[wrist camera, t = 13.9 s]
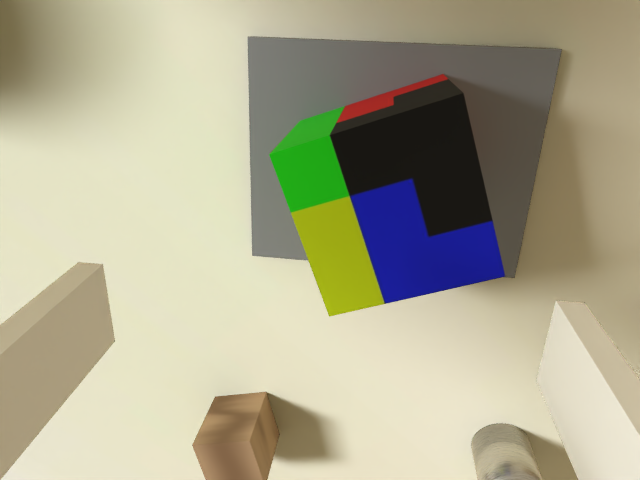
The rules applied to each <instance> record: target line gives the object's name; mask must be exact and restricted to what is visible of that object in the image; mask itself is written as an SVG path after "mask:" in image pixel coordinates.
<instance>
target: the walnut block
mask: <svg viewBox="0 0 640 480" xmlns="http://www.w3.org/2000/svg"><path fill="white" fill-rule="evenodd" d="M279 435H280V434H279V431H278V428H277V425H276V421H275V418H274V415H273V412H272V409H271V405H270V402H269V399H268V396H267V393H266V392H259V393H249V394H239V395H228V396H218V397H215V398H214V400H213V402H212V404H211V407H210V409H209V411H208V413H207V415H206V417H205V419H204V421H203V424H202V426H201V428H200V430H199V432H198V434H197V436H196V438H195V440H194V443H193V445H192V446H193V448H194V451H195V453H196V456H197V459H198V461H199V464H200V466H201V469H202V471H203V474H204V476H205V479H206V480H267V479H268V475H269V471H270V468H271V464H272V460H273V457H274V453H275V449H276V446H277V442H278V438H279Z"/></svg>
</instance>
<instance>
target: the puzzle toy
mask: <svg viewBox="0 0 640 480" xmlns="http://www.w3.org/2000/svg"><path fill="white" fill-rule="evenodd" d="M269 156H270V158H271V161H272V164H273V167H274V169H275V172H276V175H277V177H278V180H279V183H280V185H281V188H282V191H283V193H284V196H285V199H286V201H287V204H288V207H289V209H290V212H291V215H292V218H293V220H294V223H295V226H296V228H297V231H298V234H299V236H300V239H301V242H302V244H303V247H304V250H305V252H306V255H307V258H308V260H309V263H310V266H311V268H312V271H313V274H314V277H315V279H316V282H317V285H318V287H319V290H320V293H321V295H322V298H323V301H324V303H325V306H326V309H327V311H328V314H329V316H333V315H337V314H342V313H346V312H351V311H355V310H360V309H364V308H368V307H373V306H377V305H382V304H386V303H390V302H395V301H399V300H404V299H408V298H412V297H417V296H421V295H426V294H430V293H434V292H439V291H443V290H448V289H452V288H457V287H461V286H465V285H470V284H474V283H479V282H483V281H487V280H492V279H496V278H501V277H505V272H504V268H503V264H502V259H501V255H500V251H499V246H498V242H497V237H496V233H495V229H494V224H493V220H492V215H491V211H490V207H489V202H488V198H487V193H486V189H485V185H484V180H483V176H482V172H481V167H480V163H479V158H478V154H477V150H476V145H475V141H474V136H473V132H472V128H471V123H470V119H469V115H468V110H467V106H466V101H465V97H464V93H463V92H462V91H461V90H460V89H459V88H458V87H457V86H456V85H454V84H453V83H452V82H451V81H450V80H449V79H448V78H447V77H446V76H445V75H444V74H441V75H438V76H435V77H432V78H429V79H426V80H423V81H420V82H417V83H414V84H411V85H408V86H405V87H402V88H399V89H395V90H392V91H389V92H386V93H383V94H380V95H377V96H374V97H371V98H368V99H365V100H362V101H359V102H356V103H353V104H350V105H347V106H343V107H340V108H337V109H334V110H331V111H328V112H325V113H322V114H319V115H316V116H313V117H310V118H307V119H304V120H301V121H299V122H298V123H297V124H296V126H295V127H294V128H293V129H292V130H291V131H290V132H289V133H288V134H287V135H286V136H285V137H284V139H283V140H282V141H281V142H280V143H279V144H278V145H277V146H276V147H275V148H274V149H273V150H272V151H271V153H270V154H269Z"/></svg>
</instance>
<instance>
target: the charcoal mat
mask: <svg viewBox="0 0 640 480" xmlns="http://www.w3.org/2000/svg"><path fill="white" fill-rule="evenodd" d="M561 51H562V49H551V48H526V47H501V46H476V45H451V44H426V43H401V42H376V41H351V40H326V39H300V38H275V37H248V73H249V121H250V168H251V216H252V256H262V257H274V258H285V259H297V260H308V258H307V255H306V252H305V250H304V247H303V244H302V242H301V239H300V236H299V234H298V231H297V228H296V226H295V223H294V220H293V218H292V215H291V212H290V209H289V207H288V204H287V201H286V199H285V196H284V193H283V191H282V188H281V185H280V183H279V180H278V177H277V175H276V172H275V169H274V167H273V164H272V161H271V158H270V156H269V154H270V153H271V151H272V150H273V149H274V148H275V147H276V146H277V145H278V144H279V143H280V142H281V141H282V140H283V139H284V137H285V136H286V135H287V134H288V133H289V132H290V131H291V130H292V129H293V128H294V127H295V126H296V124H297V123H298V122H299V121H301V120H304V119H307V118H310V117H313V116H316V115H319V114H322V113H325V112H328V111H331V110H334V109H337V108H340V107H343V106H347V105H350V104H353V103H356V102H359V101H362V100H365V99H368V98H371V97H374V96H377V95H380V94H383V93H386V92H389V91H392V90H395V89H399V88H402V87H405V86H408V85H411V84H414V83H417V82H420V81H423V80H426V79H429V78H432V77H435V76H438V75H441V74H444V75H445V76H446V77H447V78H448V79H449V80H450V81H451V82H452V83H453V84H454V85H456V86H457V87H458V88H459V89H460V90H461V91H462V92H463V93H464V97H465V101H466V106H467V110H468V115H469V119H470V123H471V128H472V132H473V136H474V141H475V145H476V150H477V154H478V158H479V163H480V167H481V172H482V176H483V180H484V185H485V189H486V193H487V198H488V202H489V207H490V211H491V215H492V220H493V224H494V229H495V233H496V237H497V242H498V246H499V251H500V255H501V259H502V264H503V268H504V272H505V277H510V278H515V273H516V268H517V263H518V258H519V254H520V249H521V244H522V239H523V234H524V229H525V225H526V220H527V215H528V210H529V205H530V200H531V196H532V191H533V186H534V181H535V176H536V171H537V167H538V162H539V157H540V152H541V147H542V142H543V138H544V133H545V128H546V123H547V118H548V113H549V109H550V104H551V99H552V94H553V89H554V84H555V80H556V75H557V70H558V65H559V60H560V55H561Z"/></svg>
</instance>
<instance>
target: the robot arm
mask: <svg viewBox="0 0 640 480" xmlns="http://www.w3.org/2000/svg"><path fill="white" fill-rule="evenodd" d="M114 342H115V338H114V332H113V326H112V319H111V313H110V307H109V300H108V294H107V288H106V281H105V275H104V269H103V264H94V263H81V262H78V263H77V264H76V265H74V266H73V267H72V268H71V269H70V270H68V271H67V272H66V273H65V274H63V275H62V276H61V277H60V278H58V279H57V280H56V281H55V282H53V283H52V284H51V285H50V286H48V287H47V288H46V289H45V290H43V291H42V292H41V293H40V294H38V295H37V296H36V297H35V298H33V299H32V300H31V301H30V302H29V303H27V304H26V305H25V306H24V307H22V308H21V309H20V310H19V311H17V312H16V313H15V314H14V315H12V316H11V317H10V318H9V319H7V320H6V321H5V322H4V323H2V324H1V325H0V480H1V478H2V477H3V476H4V475H5V474H6V472H7V471H8V470H9V469H10V467H11V466H12V465H13V464H14V463H15V461H16V460H17V459H18V458H19V457H20V455H21V454H22V453H23V452H24V451H25V449H26V448H27V447H28V446H29V444H30V443H31V442H32V441H33V440H34V438H35V437H36V436H37V435H38V434H39V432H40V431H41V430H42V429H43V428H44V426H45V425H46V424H47V423H48V421H49V420H50V419H51V418H52V417H53V415H54V414H55V413H56V412H57V411H58V409H59V408H60V407H61V406H62V405H63V403H64V402H65V401H66V400H67V398H68V397H69V396H70V395H71V394H72V392H73V391H74V390H75V389H76V388H77V386H78V385H79V384H80V383H81V382H82V380H83V379H84V378H85V377H86V375H87V374H88V373H89V372H90V371H91V369H92V368H93V367H94V366H95V365H96V363H97V362H98V361H99V360H100V359H101V357H102V356H103V355H104V354H105V352H106V351H107V350H108V349H109V348H110V346H111V345H112V344H113V343H114ZM536 382H537V384H538V386H539V389H540V391H541V394H542V396H543V398H544V401H545V403H546V405H547V408H548V410H549V412H550V415H551V417H552V419H553V422H554V424H555V426H556V429H557V431H558V433H559V436H560V438H561V440H562V443H563V445H564V447H565V450H566V452H567V455H568V457H569V459H570V462H571V464H572V466H573V469H574V471H575V473H576V476H577V478H578V480H640V379H639V378H638V376H637V375H636V374H635V372H634V371H633V369H632V368H631V367H630V365H629V364H628V363H627V361H626V360H625V358H624V357H623V356H622V354H621V353H620V351H619V350H618V349H617V347H616V346H615V344H614V343H613V342H612V340H611V339H610V337H609V336H608V335H607V333H606V332H605V330H604V329H603V328H602V326H601V325H600V323H599V322H598V321H597V319H596V318H595V316H594V315H593V314H592V312H591V311H590V309H589V308H588V307H587V305H586V304H585V303H582V302H570V301H557V300H556V302H555V306H554V310H553V314H552V318H551V322H550V326H549V330H548V334H547V338H546V342H545V346H544V350H543V354H542V358H541V362H540V366H539V370H538V374H537V378H536Z"/></svg>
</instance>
